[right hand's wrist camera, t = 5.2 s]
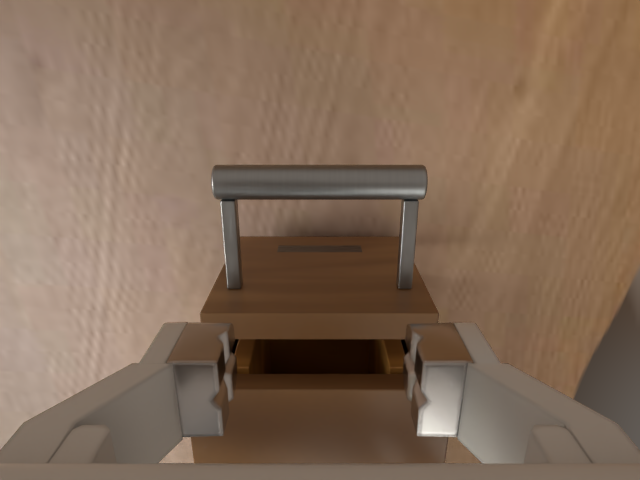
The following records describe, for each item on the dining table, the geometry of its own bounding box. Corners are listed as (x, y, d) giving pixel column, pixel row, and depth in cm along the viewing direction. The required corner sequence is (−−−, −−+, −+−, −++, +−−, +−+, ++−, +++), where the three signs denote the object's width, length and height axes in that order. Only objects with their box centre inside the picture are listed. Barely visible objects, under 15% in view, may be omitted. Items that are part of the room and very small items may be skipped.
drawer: (231, 141, 24) (184, 178, 16) (407, 141, 24) (453, 178, 16) (252, 447, 31) (228, 581, 23) (387, 447, 31) (411, 581, 23)
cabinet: (233, 273, 27) (184, 389, 17) (405, 273, 27) (454, 390, 17) (249, 480, 33) (218, 655, 23) (390, 480, 33) (420, 655, 23)
